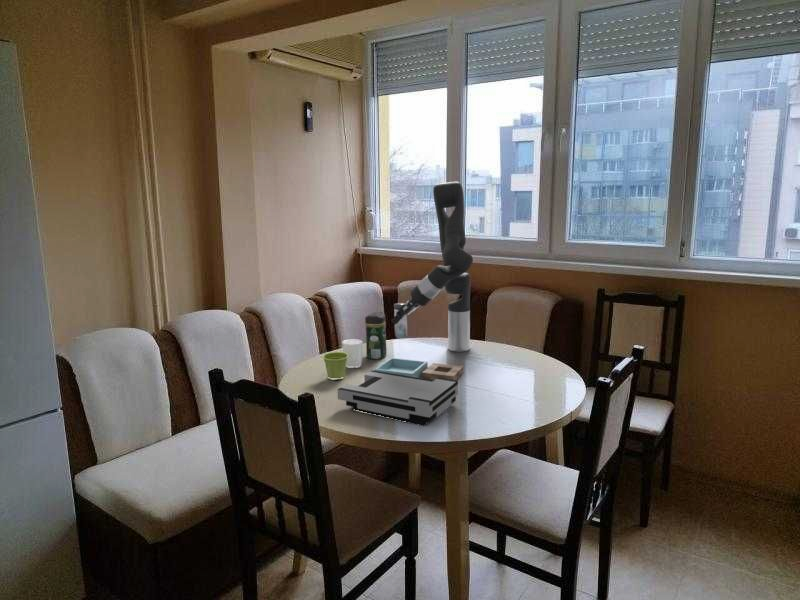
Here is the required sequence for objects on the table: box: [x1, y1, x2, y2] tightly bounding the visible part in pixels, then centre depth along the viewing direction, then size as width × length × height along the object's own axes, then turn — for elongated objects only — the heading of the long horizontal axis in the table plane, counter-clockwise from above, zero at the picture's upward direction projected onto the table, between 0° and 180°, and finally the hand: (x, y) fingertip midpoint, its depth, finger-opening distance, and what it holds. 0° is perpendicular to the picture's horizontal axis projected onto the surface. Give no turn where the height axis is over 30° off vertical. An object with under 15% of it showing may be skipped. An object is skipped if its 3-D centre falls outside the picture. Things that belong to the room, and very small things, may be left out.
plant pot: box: [322, 351, 348, 378], centre depth 202 cm, size 9×9×9 cm
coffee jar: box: [364, 311, 388, 359], centre depth 227 cm, size 10×8×19 cm
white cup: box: [341, 338, 363, 366], centre depth 216 cm, size 8×8×10 cm
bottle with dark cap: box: [393, 302, 408, 339], centre depth 200 cm, size 5×5×12 cm
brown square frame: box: [421, 362, 464, 381], centre depth 203 cm, size 12×12×2 cm
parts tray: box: [373, 357, 429, 378], centre depth 204 cm, size 15×15×4 cm
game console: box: [337, 369, 459, 427], centre depth 174 cm, size 21×32×8 cm, turn 61°
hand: (395, 321), depth 201 cm, fingers closed on bottle with dark cap, 4 cm apart
